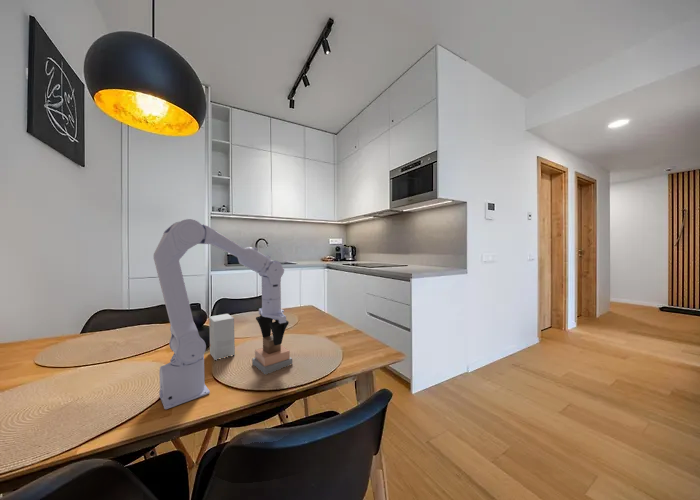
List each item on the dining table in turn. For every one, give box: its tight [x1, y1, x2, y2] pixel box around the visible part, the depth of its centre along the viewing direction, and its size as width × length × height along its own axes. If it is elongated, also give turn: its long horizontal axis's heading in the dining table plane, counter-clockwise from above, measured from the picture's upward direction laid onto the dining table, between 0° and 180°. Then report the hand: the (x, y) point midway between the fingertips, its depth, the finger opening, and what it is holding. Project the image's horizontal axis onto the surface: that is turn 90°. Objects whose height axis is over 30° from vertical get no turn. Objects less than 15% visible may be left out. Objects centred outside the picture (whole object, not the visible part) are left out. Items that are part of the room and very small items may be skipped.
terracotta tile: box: [254, 344, 291, 366], centre depth 81 cm, size 8×8×2 cm
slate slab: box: [251, 356, 293, 375], centre depth 81 cm, size 9×9×2 cm
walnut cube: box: [262, 334, 282, 354], centre depth 81 cm, size 4×4×4 cm
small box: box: [208, 313, 236, 361], centre depth 89 cm, size 8×6×13 cm
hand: (272, 340), depth 81 cm, fingers open, 7 cm apart
